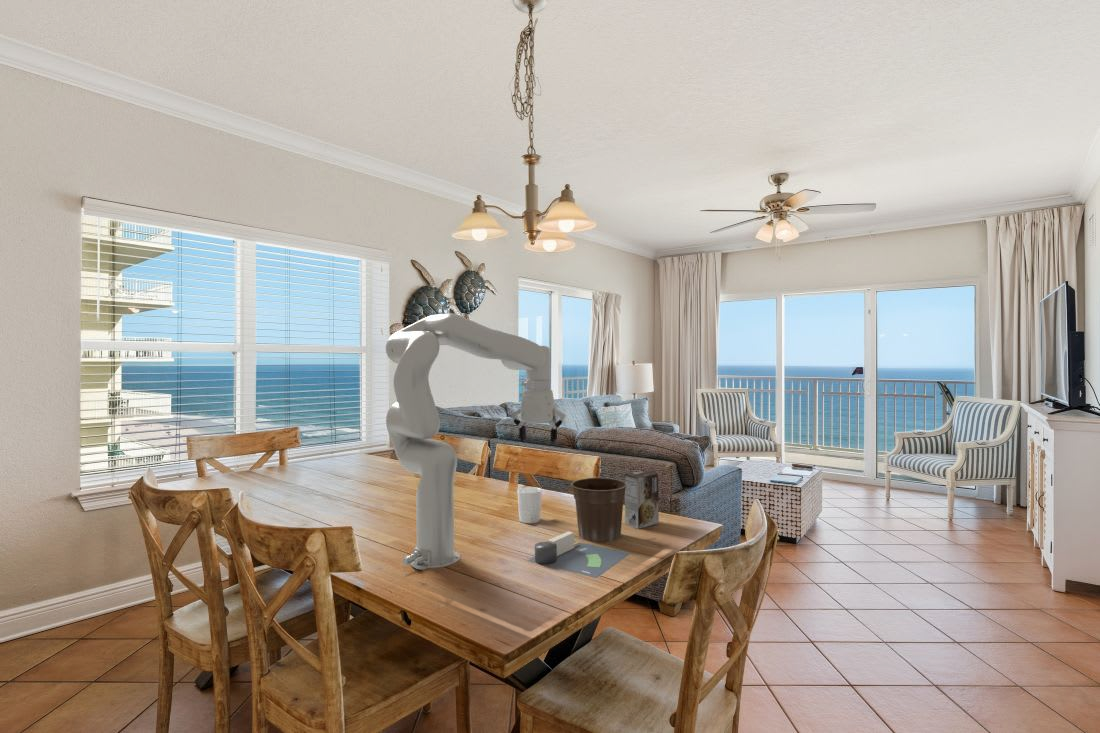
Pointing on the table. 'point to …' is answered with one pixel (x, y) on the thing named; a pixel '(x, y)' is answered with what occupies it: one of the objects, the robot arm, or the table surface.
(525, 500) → the white cup
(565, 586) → the table surface
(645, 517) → the coffee box
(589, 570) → the board
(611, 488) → the plant pot
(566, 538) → the peg dial
